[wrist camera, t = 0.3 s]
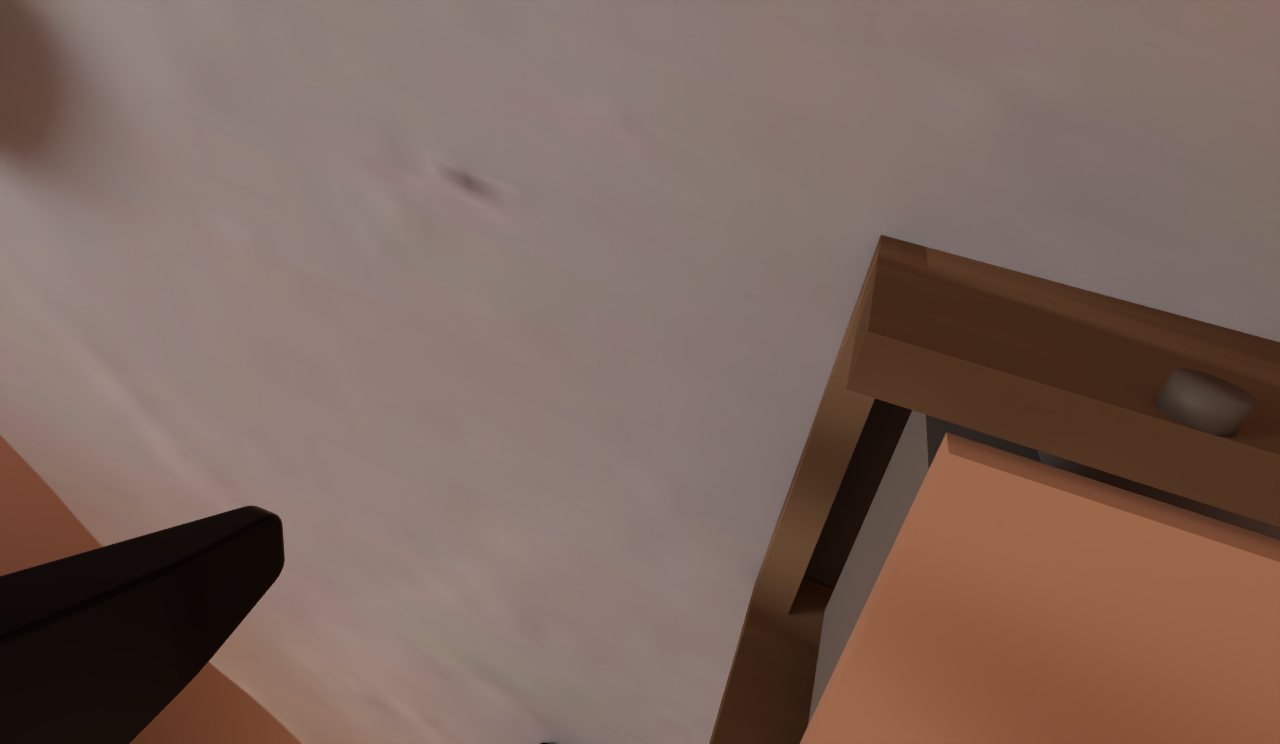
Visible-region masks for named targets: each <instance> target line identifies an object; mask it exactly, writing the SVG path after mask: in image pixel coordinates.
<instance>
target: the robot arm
mask: <svg viewBox="0 0 1280 744" xmlns="http://www.w3.org/2000/svg"><path fill="white" fill-rule="evenodd" d="M284 561H285V557H284V542H283V528H282V521H281V519H280V518H279V516H278V515H276V514H274V513H272V512H269V511H267V510H265V509H262V508H260V507H257V506H246V507H242V508H238V509H235V510H231V511H228V512H224V513H221V514H217V515H214V516H210V517H207V518H203V519H200V520H196V521H193V522H189V523H185V524H182V525H178V526H175V527H171V528H168V529H164V530H161V531H157V532H154V533H150V534H147V535H143V536H140V537H136V538H133V539H129V540H126V541H122V542H119V543H115V544H112V545H108V546H105V547H101V548H98V549H94V550H91V551H87V552H84V553H80V554H77V555H73V556H70V557H66V558H63V559H59V560H56V561H52V562H48V563H45V564H41V565H38V566H35V567H31V568H27V569H24V570H20V571H17V572H13V573H10V574H6V575H3V576H0V744H129V743H130V742H131V741H132V740H133V739H134V738H135V737H136V736H137V735H138V734H139V733H140V732H141V731H142V730H143V729H144V728H145V727H146V726H147V725H148V724H149V723H150V722H151V721H152V720H153V719H154V718H155V717H156V716H157V715H158V714H159V713H160V712H161V711H162V710H163V709H164V708H165V707H166V706H167V705H168V704H169V703H170V702H171V701H172V700H173V699H174V698H175V697H176V696H177V695H178V694H179V693H180V692H181V691H182V690H183V689H184V688H185V686H186V685H187V684H188V683H189V682H190V681H191V680H192V679H193V678H194V677H195V676H196V675H197V674H198V673H199V672H200V670H201V669H202V668H203V667H204V666H205V665H206V664H207V662H208V661H209V660H210V659H211V658H212V657H213V655H214V654H215V653H216V652H217V651H218V649H219V648H220V647H221V646H222V645H223V643H224V642H225V641H226V640H227V639H228V637H229V636H230V635H231V634H232V633H233V631H234V630H235V629H236V628H237V627H238V625H239V624H240V623H241V622H242V621H243V619H244V618H245V617H246V616H247V614H248V613H249V612H250V611H251V610H252V608H253V607H254V606H255V605H256V604H257V602H258V601H259V600H260V599H261V598H262V596H263V595H264V594H265V593H266V592H267V590H268V589H269V588H270V587H271V586H272V584H273V583H274V582H275V581H276V579H277V578H278V576H279V575H280V573H281V571H282V569H283V566H284ZM541 744H548V743H541Z"/></svg>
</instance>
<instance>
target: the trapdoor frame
mask: <svg viewBox="0 0 1280 744" xmlns="http://www.w3.org/2000/svg"><path fill="white" fill-rule="evenodd" d="M875 398H876V399H879V400H882V401H885V402H888V403H891V404H895V405H898V406H901V407H904V408H907V409H910V410H913V411H916V412H920V413H923V414H926V415H929V416H932V417H935V418H938V419H941V420H945V421H948V422H951V423H954V424H957V425H960V426H963V427H966V428H970V429H973V430H976V431H979V432H982V433H985V434H988V435H991V436H995V437H998V438H1001V439H1004V440H1007V441H1010V442H1013V443H1016V444H1020V445H1023V446H1026V447H1029V448H1032V449H1035V450H1038V451H1041V452H1045V453H1048V454H1051V455H1054V456H1057V457H1060V458H1063V459H1067V460H1070V461H1073V462H1076V463H1079V464H1082V465H1085V466H1088V467H1092V468H1095V469H1098V470H1101V471H1104V472H1107V473H1110V474H1113V475H1117V476H1120V477H1123V478H1126V479H1129V480H1132V481H1135V482H1138V483H1142V484H1145V485H1148V486H1151V487H1154V488H1157V489H1160V490H1163V491H1167V492H1170V493H1173V494H1176V495H1179V496H1182V497H1185V498H1188V499H1192V500H1195V501H1198V502H1201V503H1204V504H1207V505H1210V506H1213V507H1217V508H1220V509H1223V510H1226V511H1229V512H1232V513H1235V514H1238V515H1242V516H1245V517H1248V518H1251V519H1254V520H1257V521H1260V522H1263V523H1267V524H1270V525H1273V526H1276V527H1279V528H1280V343H1279V342H1275V341H1272V340H1268V339H1264V338H1261V337H1257V336H1253V335H1250V334H1246V333H1242V332H1238V331H1235V330H1231V329H1227V328H1224V327H1220V326H1216V325H1213V324H1209V323H1205V322H1201V321H1198V320H1194V319H1190V318H1187V317H1183V316H1179V315H1176V314H1172V313H1168V312H1164V311H1161V310H1157V309H1153V308H1150V307H1146V306H1142V305H1138V304H1135V303H1131V302H1127V301H1124V300H1120V299H1116V298H1113V297H1109V296H1105V295H1101V294H1098V293H1094V292H1090V291H1087V290H1083V289H1079V288H1076V287H1072V286H1068V285H1064V284H1061V283H1057V282H1053V281H1050V280H1046V279H1042V278H1038V277H1035V276H1031V275H1027V274H1024V273H1020V272H1016V271H1013V270H1009V269H1005V268H1001V267H998V266H994V265H990V264H987V263H983V262H979V261H976V260H972V259H968V258H964V257H961V256H957V255H953V254H950V253H946V252H942V251H939V250H935V249H931V248H927V247H924V246H920V245H916V244H913V243H909V242H905V241H901V240H898V239H894V238H890V237H887V236H883V235H881V237H880V239H879V242H878V245H877V248H876V250H875V253H874V256H873V259H872V261H871V264H870V267H869V270H868V273H867V275H866V278H865V281H864V284H863V286H862V289H861V292H860V295H859V297H858V300H857V303H856V306H855V309H854V311H853V314H852V317H851V320H850V322H849V325H848V328H847V331H846V334H845V336H844V339H843V342H842V345H841V347H840V350H839V353H838V356H837V358H836V361H835V364H834V367H833V370H832V372H831V375H830V378H829V381H828V383H827V386H826V389H825V392H824V394H823V397H822V400H821V403H820V406H819V408H818V411H817V414H816V417H815V419H814V422H813V425H812V428H811V430H810V433H809V436H808V439H807V442H806V444H805V447H804V450H803V453H802V455H801V458H800V461H799V464H798V466H797V469H796V472H795V475H794V478H793V480H792V483H791V486H790V489H789V491H788V494H787V497H786V500H785V503H784V505H783V508H782V511H781V514H780V516H779V519H778V522H777V525H776V527H775V530H774V533H773V536H772V539H771V541H770V544H769V547H768V550H767V552H766V555H765V558H764V561H763V563H762V566H761V569H760V572H759V575H758V577H757V580H756V583H755V586H754V589H753V592H752V596H751V599H750V603H749V606H748V610H747V613H746V617H745V620H744V624H743V627H742V631H741V635H740V638H739V642H738V645H737V649H736V652H735V656H734V659H733V663H732V666H731V670H730V673H729V677H728V680H727V684H726V687H725V691H724V694H723V698H722V701H721V705H720V708H719V712H718V715H717V719H716V722H715V726H714V729H713V733H712V736H711V740H710V743H709V744H800V742H801V740H802V738H803V735H804V733H805V731H806V729H807V727H808V722H809V715H810V708H811V701H812V694H813V688H814V681H815V674H816V667H817V660H818V653H819V646H820V640H821V633H822V626H823V619H824V612H825V609H826V607H827V605H828V602H829V600H830V598H831V595H832V593H833V591H834V589H832V588H829V587H827V586H824V585H822V584H819V583H816V582H814V581H811V580H808V579H806V578H803V576H804V573H805V571H806V568H807V566H808V564H809V561H810V559H811V556H812V554H813V551H814V549H815V546H816V544H817V541H818V539H819V536H820V534H821V531H822V529H823V526H824V524H825V521H826V519H827V516H828V514H829V511H830V509H831V506H832V504H833V501H834V499H835V496H836V494H837V491H838V489H839V487H840V484H841V482H842V479H843V477H844V474H845V472H846V469H847V467H848V464H849V462H850V459H851V457H852V454H853V452H854V449H855V447H856V444H857V442H858V439H859V437H860V434H861V432H862V429H863V427H864V424H865V422H866V419H867V417H868V414H869V412H870V409H871V407H872V405H873V402H874V400H875Z"/></svg>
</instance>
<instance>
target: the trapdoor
mask: <svg viewBox="0 0 1280 744" xmlns="http://www.w3.org/2000/svg"><path fill="white" fill-rule="evenodd" d="M800 744H1280V540H1279V539H1275V538H1272V537H1269V536H1266V535H1263V534H1260V533H1257V532H1254V531H1251V530H1248V529H1244V528H1241V527H1238V526H1235V525H1232V524H1229V523H1226V522H1223V521H1220V520H1217V519H1214V518H1210V517H1207V516H1204V515H1201V514H1198V513H1195V512H1192V511H1189V510H1186V509H1183V508H1179V507H1176V506H1173V505H1170V504H1167V503H1164V502H1161V501H1158V500H1155V499H1152V498H1149V497H1145V496H1142V495H1139V494H1136V493H1133V492H1130V491H1127V490H1124V489H1121V488H1118V487H1115V486H1111V485H1108V484H1105V483H1102V482H1099V481H1096V480H1093V479H1090V478H1087V477H1084V476H1080V475H1077V474H1074V473H1071V472H1068V471H1065V470H1062V469H1059V468H1056V467H1053V466H1050V465H1046V464H1043V463H1041V462H1040V459H1039V456H1038V452H1037V450H1035V449H1032V448H1029V447H1026V446H1023V445H1020V444H1016V443H1013V442H1010V441H1007V440H1004V439H1001V438H998V437H995V436H991V435H988V434H985V433H982V432H979V431H976V430H973V429H970V428H966V427H963V426H960V425H957V424H954V423H951V422H948V421H945V420H941V419H938V418H935V417H932V416H929V415H926V414H923V413H920V412H916V411H913V410H912V412H911V414H910V417H909V419H908V421H907V423H906V426H905V428H904V430H903V433H902V435H901V437H900V439H899V442H898V444H897V446H896V449H895V451H894V453H893V456H892V458H891V460H890V462H889V465H888V467H887V469H886V472H885V474H884V476H883V478H882V481H881V483H880V485H879V488H878V490H877V492H876V495H875V497H874V499H873V501H872V504H871V506H870V508H869V511H868V513H867V515H866V517H865V520H864V522H863V524H862V527H861V529H860V531H859V534H858V536H857V538H856V540H855V543H854V545H853V547H852V550H851V552H850V554H849V556H848V559H847V561H846V563H845V566H844V568H843V570H842V573H841V575H840V577H839V579H838V582H837V584H836V586H835V589H834V591H833V593H832V595H831V598H830V600H829V602H828V605H827V607H826V609H825V612H824V619H823V626H822V633H821V640H820V646H819V653H818V660H817V667H816V674H815V681H814V688H813V694H812V701H811V708H810V715H809V722H808V727H807V729H806V731H805V733H804V735H803V738H802V740H801V742H800Z"/></svg>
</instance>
